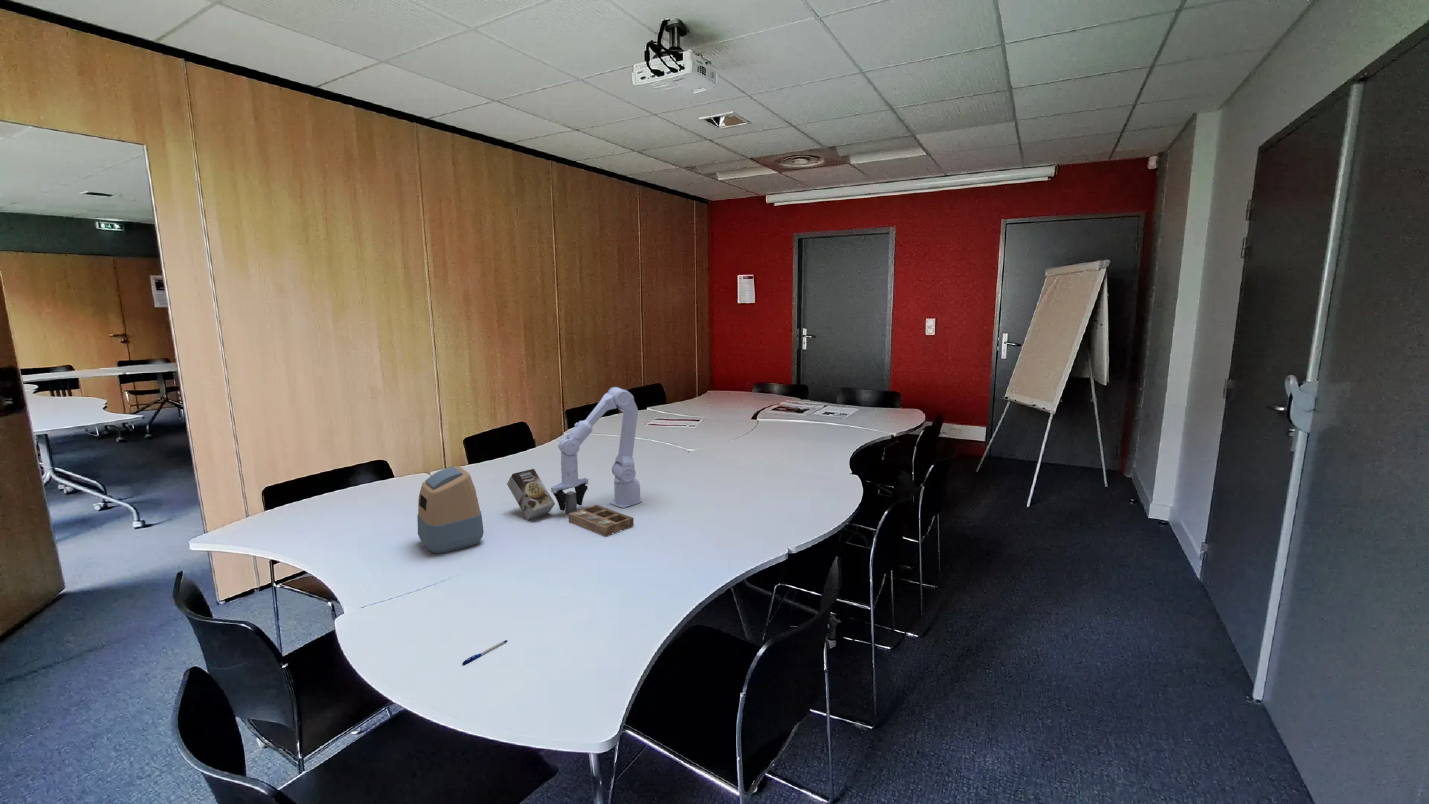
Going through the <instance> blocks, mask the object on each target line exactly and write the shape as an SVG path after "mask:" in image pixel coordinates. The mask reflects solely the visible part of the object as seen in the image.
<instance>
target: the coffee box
mask: <svg viewBox="0 0 1429 804" xmlns="http://www.w3.org/2000/svg"><path fill="white" fill-rule="evenodd" d="M506 486H507V487H508V489H509V490H510V492H511V494H512V495H513V497H514V499H515V501H516V503H517V505H518V506H519V508H520V510H521V511H522V513H523V515H524V516H525V519H526V520H527V521H528V520H532V519H535V518H537V517H540V516H545V515H547V514H549V513H550V512H551V511H552V509H553V508H554V506H555V504H556V503H555V501H554V499H553V498H552V496H551V494H550V493H549V491H548V489H547V488H546V487H545V484H544V483H543V481H542V480H541V478H540V476H539V475H538V473H537V472H536V470H535V468H531V469H527V470H522V471H520V472H519V471H517V472H514V473H512V474H511V476H510V478H509V480H508V481H507V483H506Z"/></svg>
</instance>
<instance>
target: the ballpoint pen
mask: <svg viewBox="0 0 1429 804" xmlns="http://www.w3.org/2000/svg"><path fill="white" fill-rule="evenodd" d="M506 643H508V640H507V639H505V640H503V641H501V642H499V643H497V644H495V645H493V646H492V647H490V648H488V649H486V650H484V651H481V652H480V653H478V654H477V653H475V654H474V655H471V656H469V657H468V658H466V659H465V660H463V662H462V663H461V664H462V666H465V665H467V664H469V663H471V662H473V661H475V660H477V659H479V658H481V657H483V656H485V655H486V654H488V653H490V652H492V651H494V650H496V649H498V648H499V647H501V646H502V645H505V644H506Z"/></svg>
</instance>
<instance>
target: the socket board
mask: <svg viewBox="0 0 1429 804" xmlns="http://www.w3.org/2000/svg"><path fill="white" fill-rule="evenodd" d="M567 515H568V522H569V523H571V524H573V525H575V524H576V525H575V526H578V527H581V528H583V527H584V528H583V529H585V528H586V530H587V531H590V530H591V531H590V532H593V533H596V534H598V533H599V534H598V535H600V534H601V535H600V536H603V537H605V536H606V537H608V535H609V536H611V535H613V534H612V533H614V534H617V533H619V532H618V531H620V530H622V531H624V529H625V530H627V529H626V528H628V527H630V528H632V526H633V527H634V526H635V525H634V517H632V516H630V515H626V514H624V513H621V512H619V511H615V510H613V509H610V508H607V507H603V506H601V505H598V504H595V505H591V506H588V507H584V508H581V509H579V510H578V509H577V511H575V512H571V513H568V514H567ZM628 529H629V528H628ZM616 532H617V533H616ZM620 532H621V531H620Z"/></svg>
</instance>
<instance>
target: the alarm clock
mask: <svg viewBox="0 0 1429 804" xmlns="http://www.w3.org/2000/svg"><path fill="white" fill-rule="evenodd" d="M479 504H480V503H479V499H478V495H477V491H476V487H475V485H474V482H473V480H472V477H471V474H470V473H469V472H468V471H466V470H465V469H463V468H462V467H461V466H458V465H454V466H450V467H446V468H443V469H442V470H439V471H437V472H434V473H433V474H432V475H431V476H429V477H428V478H427V479H425V480H424V481H423V482H422V483H421V487H420V490H419V495H418V505H417V509H418V510H417V515H416V517H417V535H418V538H419V540H420V542H422V544H423V545H424V546H425V547H426V548H427V550H428V551H430V553H434V554H445V552H446V553H450V552H453V551H457V549H458V550H460V549H461V548H462V549H465V548H469V546H470V547H473V546H474V545H476V544H477V543H479V542H480V541H481V540H482V539H483V536H484V532H485V531H484V525H483V517H482V516H483V515H482V511H481V508H480V505H479ZM462 549H461V550H462ZM449 551H450V552H449Z"/></svg>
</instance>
